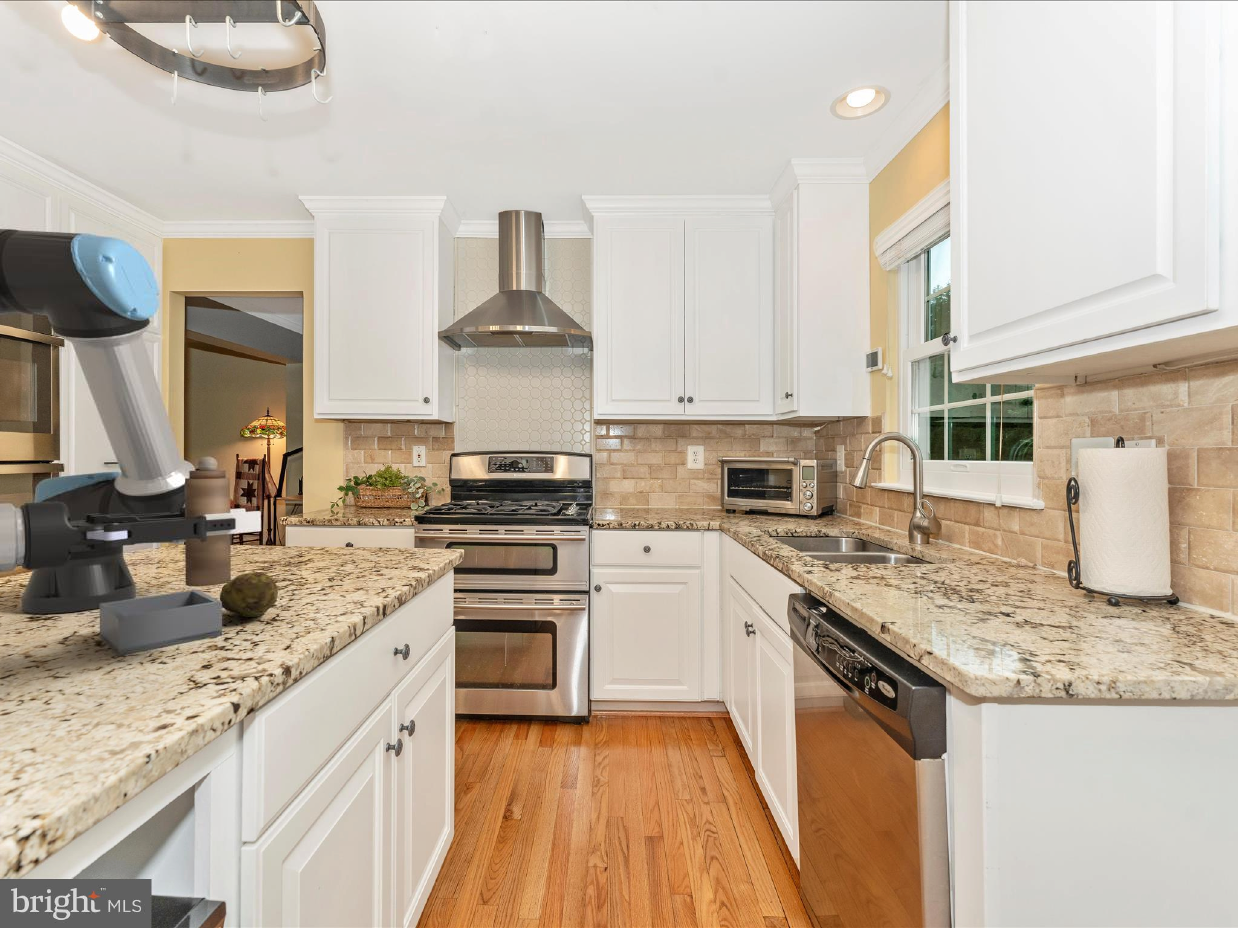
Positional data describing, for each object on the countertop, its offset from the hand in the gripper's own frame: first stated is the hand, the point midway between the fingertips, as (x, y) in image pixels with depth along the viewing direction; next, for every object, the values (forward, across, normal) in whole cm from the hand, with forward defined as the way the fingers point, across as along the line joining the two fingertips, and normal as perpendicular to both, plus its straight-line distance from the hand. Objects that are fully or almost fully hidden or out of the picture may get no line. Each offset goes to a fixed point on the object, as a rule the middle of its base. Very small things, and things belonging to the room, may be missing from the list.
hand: (251, 519), depth 84 cm
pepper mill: (-5, 0, -8) cm, 10 cm away
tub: (-7, -15, -18) cm, 24 cm away
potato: (+5, -16, -18) cm, 24 cm away
